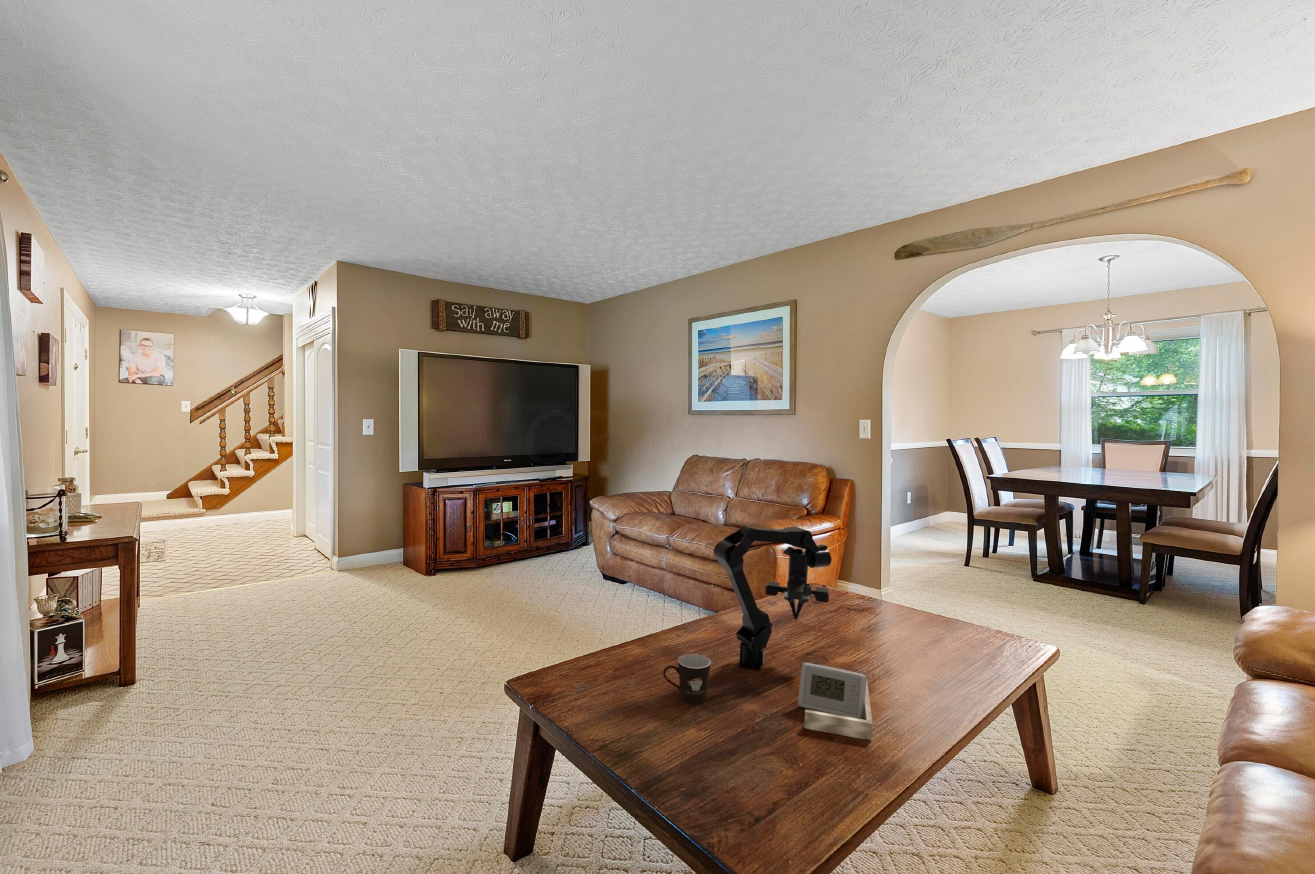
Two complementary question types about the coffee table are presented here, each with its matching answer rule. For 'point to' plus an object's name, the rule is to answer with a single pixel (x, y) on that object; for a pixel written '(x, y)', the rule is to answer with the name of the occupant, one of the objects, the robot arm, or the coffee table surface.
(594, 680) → the coffee table surface
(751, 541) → the robot arm
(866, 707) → the bay
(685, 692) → the coffee mug
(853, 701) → the digital clock
